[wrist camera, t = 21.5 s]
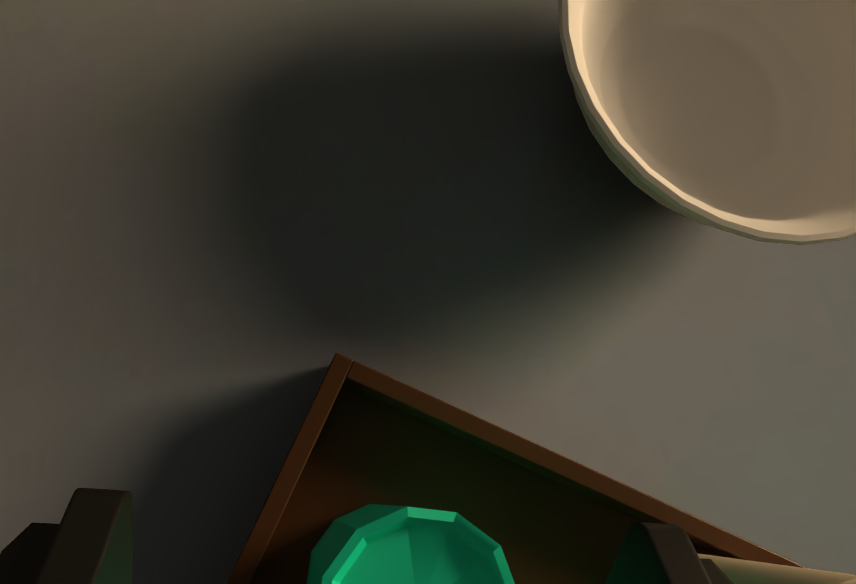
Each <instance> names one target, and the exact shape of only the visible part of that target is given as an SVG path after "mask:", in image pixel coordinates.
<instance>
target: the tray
mask: <svg viewBox="0 0 856 584" xmlns="http://www.w3.org/2000/svg"><path fill="white" fill-rule="evenodd" d="M368 504H379V505H393V506H407V507H416V508H424V509H433V510H441V511H449V512H457V513H458V514H460V515H461V516H462V517H464V518H465V519H466V520H468V521H469V522H470V523H472V524H473V525H474V526H476V527H477V528H478V529H480V530H481V531H482V532H484V533H485V534H486V535H488V536H489V537H490V538H492V539H493V540H494V541H496V542H497V543H498V544H500V545H501V548H502V550H503V553H504V556H505V558H506V561H507V564H508V566H509V569H510V572H511V575H512V577H513V580H514V583H515V584H606V581H607V578H608V576H609V573H610V571H611V569H612V566H613V564H614V562H615V559H616V557H617V555H618V552H619V550H620V548H621V545H622V543H623V541H624V538H625V536H626V533H627V531H628V529H629V527H630V526H631V525H632V524H633V523H635V522H644V523H661V524H678V525H680V526H681V527H683V528H684V530H685V531H686V533H687V534H688V536H689V538H690V540H691V542H692V544H693V546H694V548H695V550H696V552H697V553H698V554H705V555H712V556H720V557H727V558H734V559H742V560H749V561H756V562H764V563H771V564H778V565H786V566H793V567H800V568H806V567H804V566H802V565H800V564H797V563H795V562H793V561H791V560H789V559H786V558H784V557H782V556H780V555H778V554H775V553H773V552H771V551H769V550H767V549H765V548H762V547H760V546H758V545H756V544H754V543H751V542H749V541H747V540H745V539H743V538H741V537H738V536H736V535H734V534H732V533H730V532H727V531H725V530H723V529H721V528H719V527H716V526H714V525H712V524H710V523H708V522H706V521H703V520H701V519H699V518H697V517H695V516H692V515H690V514H688V513H686V512H684V511H682V510H679V509H677V508H675V507H673V506H671V505H668V504H666V503H664V502H662V501H660V500H657V499H655V498H653V497H651V496H649V495H647V494H644V493H642V492H640V491H638V490H636V489H633V488H631V487H629V486H627V485H625V484H623V483H620V482H618V481H616V480H614V479H612V478H609V477H607V476H605V475H603V474H601V473H598V472H596V471H594V470H592V469H590V468H588V467H585V466H583V465H581V464H579V463H577V462H574V461H572V460H570V459H568V458H566V457H564V456H561V455H559V454H557V453H555V452H553V451H550V450H548V449H546V448H544V447H542V446H539V445H537V444H535V443H533V442H531V441H529V440H526V439H524V438H522V437H520V436H518V435H515V434H513V433H511V432H509V431H507V430H505V429H502V428H500V427H498V426H496V425H494V424H491V423H489V422H487V421H485V420H483V419H480V418H478V417H476V416H474V415H472V414H470V413H467V412H465V411H463V410H461V409H459V408H456V407H454V406H452V405H450V404H448V403H445V402H443V401H441V400H439V399H437V398H435V397H432V396H430V395H428V394H426V393H424V392H421V391H419V390H417V389H415V388H413V387H411V386H408V385H406V384H404V383H402V382H400V381H397V380H395V379H393V378H391V377H389V376H386V375H384V374H382V373H380V372H378V371H376V370H373V369H371V368H369V367H367V366H365V365H362V364H360V363H358V362H356V361H353V360H352V359H349V358H347V357H345V356H343V355H341V354H338V353H336V354H335V356H334V358H333V360H332V362H331V364H330V366H329V368H328V371H327V373H326V375H325V377H324V379H323V381H322V383H321V385H320V387H319V390H318V392H317V394H316V396H315V398H314V400H313V402H312V404H311V406H310V408H309V411H308V413H307V415H306V417H305V419H304V421H303V423H302V425H301V427H300V430H299V432H298V434H297V436H296V438H295V440H294V442H293V444H292V446H291V448H290V451H289V453H288V455H287V457H286V459H285V461H284V463H283V465H282V467H281V470H280V472H279V474H278V476H277V478H276V480H275V482H274V484H273V486H272V489H271V491H270V493H269V495H268V497H267V499H266V501H265V503H264V505H263V507H262V510H261V512H260V514H259V516H258V518H257V520H256V522H255V524H254V526H253V529H252V531H251V533H250V535H249V537H248V539H247V541H246V543H245V545H244V547H243V550H242V552H241V554H240V556H239V558H238V560H237V562H236V564H235V566H234V569H233V571H232V573H231V575H230V577H229V579H228V581H227V583H226V584H306V583H307V576H308V570H309V563H310V556H311V551H312V549H313V548H314V547H315V545H316V544H317V543H318V541H319V540H320V539H321V537H322V536H323V535H324V533H325V532H326V531H327V529H328V528H329V527H330V525H331V524H332V522H333V521H334V520H335V519H337V518H339V517H341V516H343V515H346V514H348V513H350V512H352V511H354V510H357V509H359V508H361V507H363V506H366V505H368Z"/></svg>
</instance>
